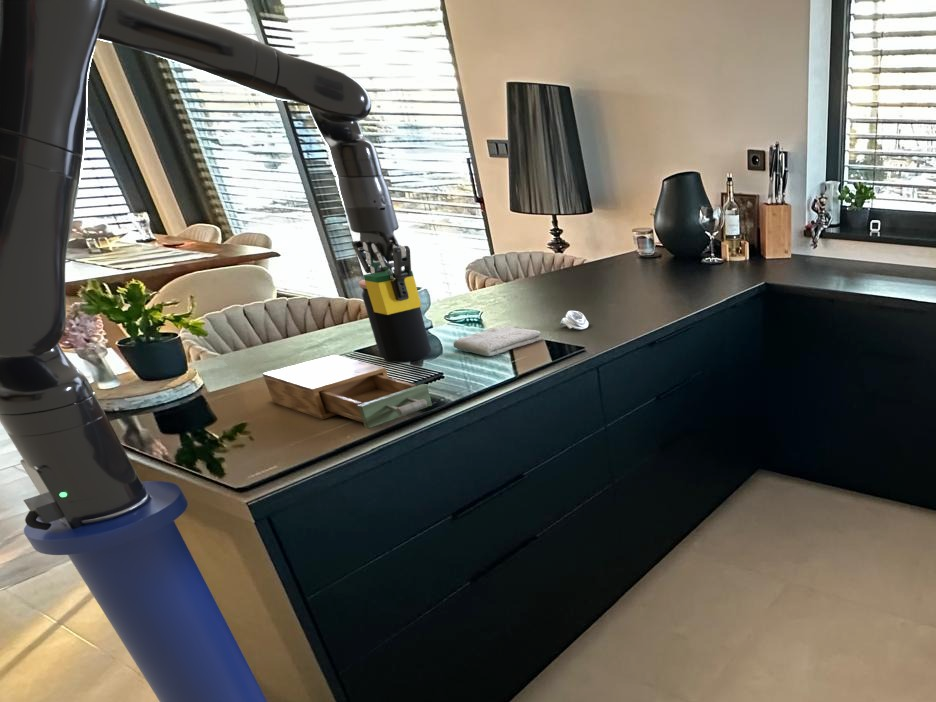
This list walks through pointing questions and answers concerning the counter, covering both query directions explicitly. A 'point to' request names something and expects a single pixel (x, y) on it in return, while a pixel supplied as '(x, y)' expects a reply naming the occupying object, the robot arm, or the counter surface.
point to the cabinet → (315, 382)
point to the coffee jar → (397, 332)
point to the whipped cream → (574, 320)
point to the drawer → (375, 399)
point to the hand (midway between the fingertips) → (395, 297)
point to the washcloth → (497, 340)
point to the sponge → (390, 293)
